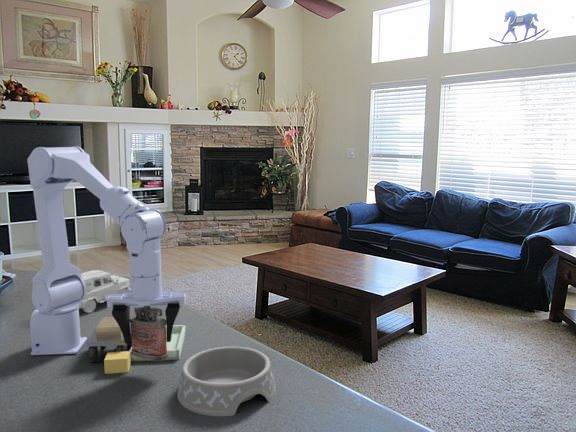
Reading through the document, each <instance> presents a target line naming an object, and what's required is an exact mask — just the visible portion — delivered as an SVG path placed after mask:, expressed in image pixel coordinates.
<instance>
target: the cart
mask: <svg viewBox="0 0 576 432" xmlns="http://www.w3.org/2000/svg"><path fill="white" fill-rule="evenodd" d="M130 332H131V323H130ZM110 346H111V347H112V346H114V347H115V346H116V350H115V352H123V351H128V349H129V347H132V337H131V340H130V342H129V343H126V344H125V341H124V337H123V334H122V331H121V329H120V327H119V325H118V323H117V322H116V320H115V319H114V317H113V316H105V317H102V319H100V321H99V323H97V325H96V327H95V330H94V331H93V332H92V333H91V335H90V337H89V338H87V340H86V347H87V359H88V361H89V362H91V363H92V362H94V363H95V362H99V361H100V356H101V348H107V347H110Z"/></svg>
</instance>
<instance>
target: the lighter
mask: <svg viewBox="0 0 576 432" xmlns="http://www.w3.org/2000/svg"><path fill="white" fill-rule="evenodd" d="M133 309H134V314H135V315H132V316H130V318H129V321H130V323H131V337H132V346H131V347H132V349H131V348H130V349H131V353H132V355H133V356H136V357H139V358H143V359H148V360H153V361H158V362H161V361H166V360H165V359H167V358H168V352H167V345H166V326H167V323H166V318H161V316H163V309H162V308H157V307H151V305H150V306H134V308H133Z"/></svg>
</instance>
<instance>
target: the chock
mask: <svg viewBox="0 0 576 432" xmlns="http://www.w3.org/2000/svg"><path fill="white" fill-rule="evenodd" d="M131 362H132V361H131V358H130V350H129V351H123V352H116V351H109V352H108V351H107V353H106V355H105V358H104V359H103V364H104V368H103V369H104V374H106V375H107V374H119V373H120V374H121V373H122V374H124V373H129V370H130V367H131V364H132V363H131Z"/></svg>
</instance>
